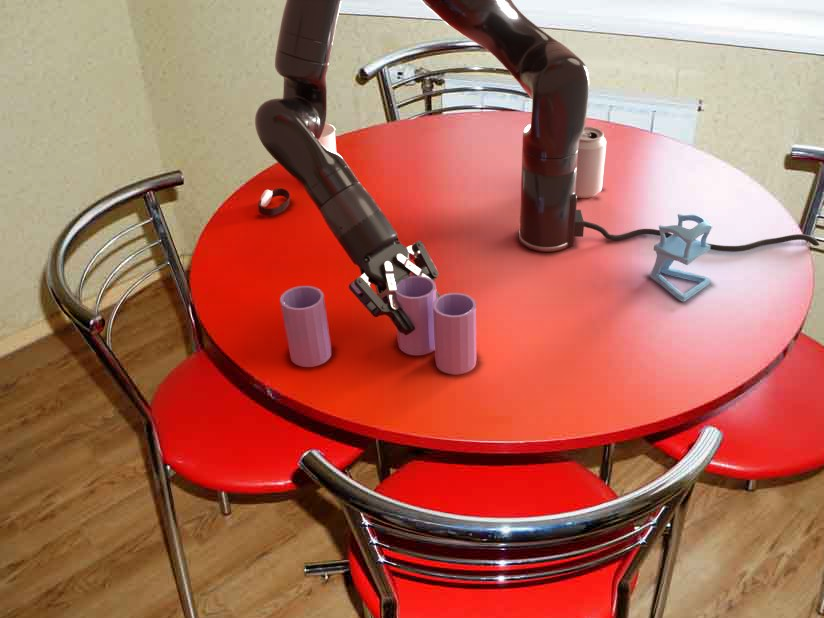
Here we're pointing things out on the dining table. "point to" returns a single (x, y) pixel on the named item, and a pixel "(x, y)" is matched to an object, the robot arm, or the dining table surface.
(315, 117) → the robot arm
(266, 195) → the watch
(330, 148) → the white cup
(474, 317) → the cup
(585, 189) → the can
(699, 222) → the chair
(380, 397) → the dining table surface
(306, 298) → the end cup
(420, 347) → the middle cup
